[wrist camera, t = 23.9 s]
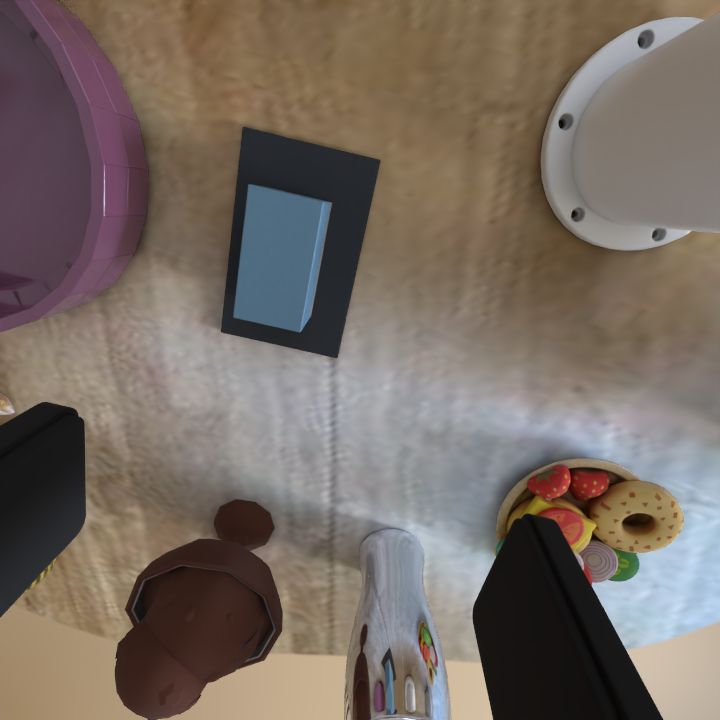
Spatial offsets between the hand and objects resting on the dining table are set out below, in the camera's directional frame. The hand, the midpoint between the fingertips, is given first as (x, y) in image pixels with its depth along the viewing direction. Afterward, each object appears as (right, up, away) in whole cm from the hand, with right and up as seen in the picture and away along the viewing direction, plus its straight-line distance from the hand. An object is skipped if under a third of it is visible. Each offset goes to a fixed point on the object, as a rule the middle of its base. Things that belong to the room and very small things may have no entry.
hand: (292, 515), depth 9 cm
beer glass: (+4, -15, +30) cm, 33 cm away
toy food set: (+20, -10, +27) cm, 35 cm away
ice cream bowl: (-9, -12, +29) cm, 33 cm away
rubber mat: (-3, +11, +20) cm, 23 cm away
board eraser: (-3, +11, +20) cm, 23 cm away
